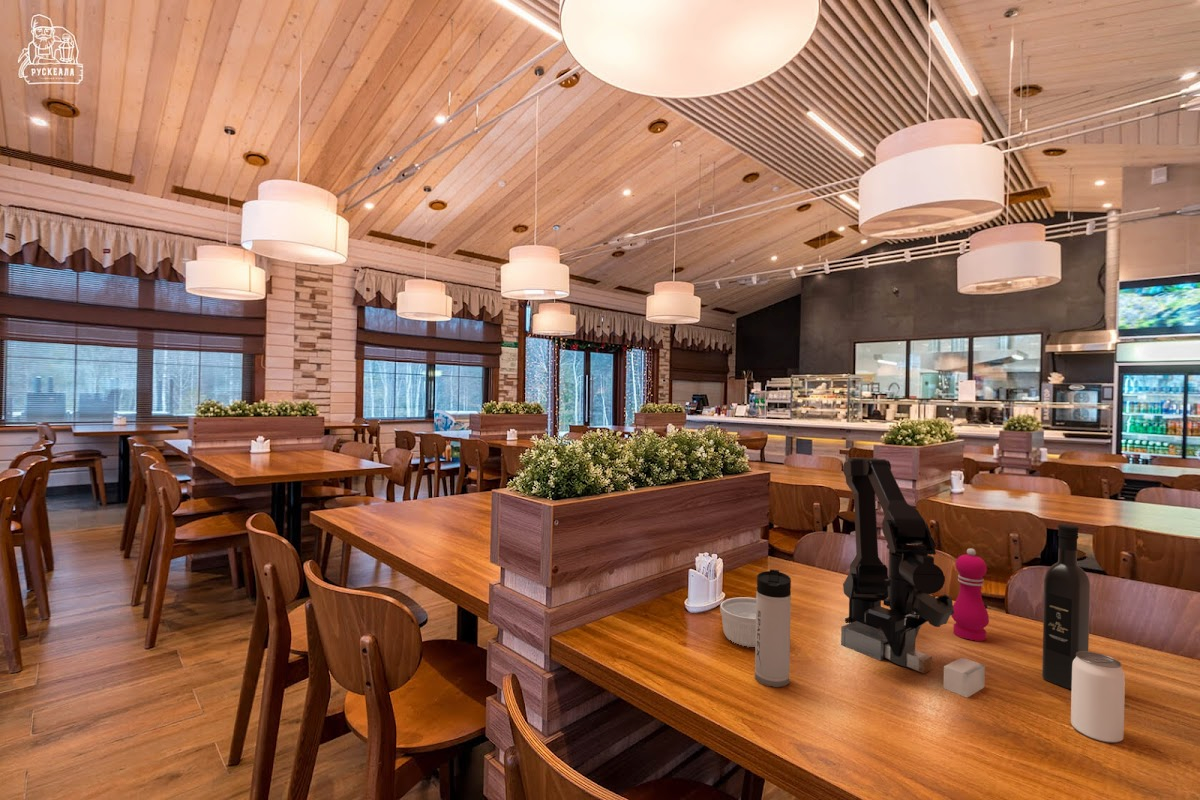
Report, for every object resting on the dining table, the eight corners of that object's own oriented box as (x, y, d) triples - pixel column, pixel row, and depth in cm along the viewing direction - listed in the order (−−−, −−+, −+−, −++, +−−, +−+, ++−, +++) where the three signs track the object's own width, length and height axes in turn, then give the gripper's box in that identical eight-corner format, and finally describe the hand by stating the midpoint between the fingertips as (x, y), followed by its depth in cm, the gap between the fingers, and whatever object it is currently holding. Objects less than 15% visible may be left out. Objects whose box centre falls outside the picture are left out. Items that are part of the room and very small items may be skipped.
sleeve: (841, 644, 124) (841, 626, 124) (855, 638, 127) (856, 621, 127) (880, 660, 117) (880, 641, 117) (895, 654, 120) (895, 635, 120)
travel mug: (789, 674, 111) (791, 571, 110) (789, 690, 104) (791, 581, 104) (756, 668, 113) (758, 567, 112) (753, 684, 106) (755, 577, 106)
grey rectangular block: (943, 688, 106) (943, 666, 106) (961, 678, 110) (961, 657, 110) (966, 697, 103) (967, 675, 103) (984, 687, 107) (984, 665, 107)
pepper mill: (977, 630, 133) (979, 544, 133) (995, 643, 126) (997, 553, 126) (944, 628, 134) (946, 543, 134) (961, 641, 127) (963, 551, 127)
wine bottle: (1074, 692, 105) (1078, 530, 105) (1039, 678, 110) (1043, 524, 110) (1090, 685, 108) (1093, 527, 108) (1054, 672, 113) (1058, 521, 113)
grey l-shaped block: (848, 644, 124) (848, 612, 124) (858, 640, 126) (858, 608, 126) (923, 674, 111) (923, 638, 111) (932, 669, 113) (933, 634, 113)
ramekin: (714, 644, 123) (715, 612, 123) (725, 622, 136) (725, 593, 136) (778, 656, 118) (779, 622, 118) (783, 632, 131) (783, 601, 131)
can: (1060, 721, 96) (1061, 650, 96) (1095, 720, 96) (1097, 649, 96) (1097, 745, 89) (1098, 668, 89) (1135, 743, 90) (1136, 667, 90)
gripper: (921, 597, 104) (919, 682, 104) (969, 580, 114) (967, 657, 114) (863, 580, 113) (862, 658, 113) (912, 565, 123) (911, 637, 124)
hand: (902, 653), depth 116 cm, fingers closed on grey l-shaped block, 4 cm apart
